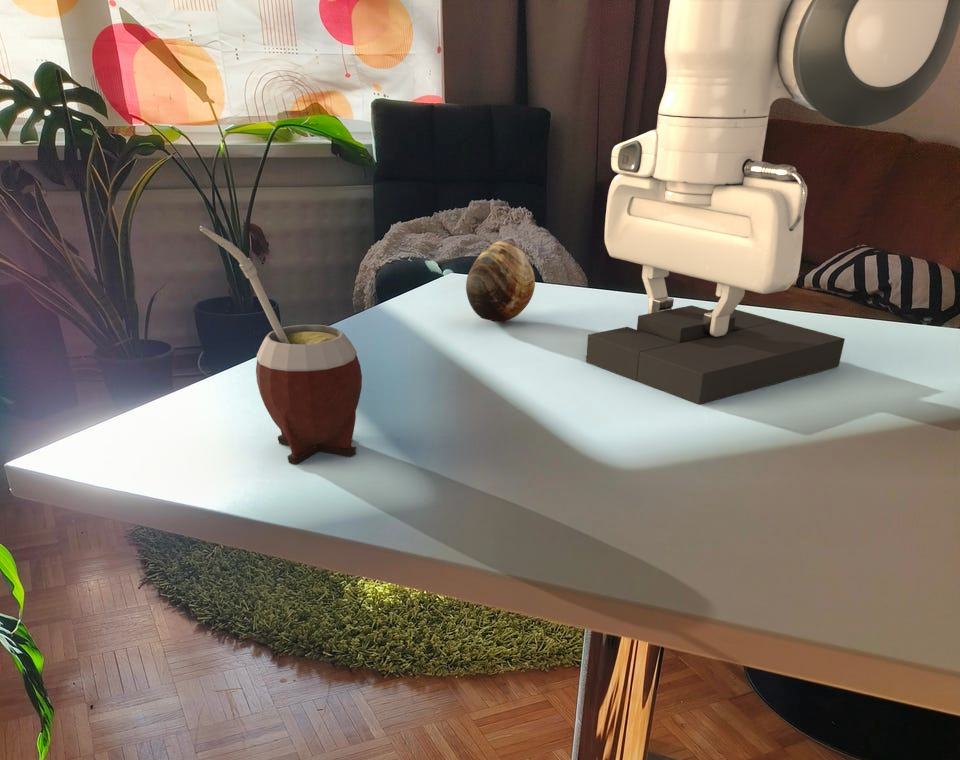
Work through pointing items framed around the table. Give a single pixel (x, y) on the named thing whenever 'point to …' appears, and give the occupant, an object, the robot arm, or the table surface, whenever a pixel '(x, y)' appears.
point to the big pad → (717, 357)
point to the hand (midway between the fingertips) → (685, 326)
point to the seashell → (500, 282)
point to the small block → (677, 324)
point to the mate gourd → (305, 378)
